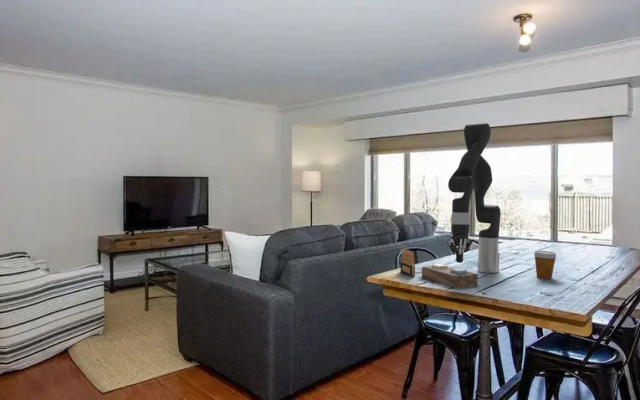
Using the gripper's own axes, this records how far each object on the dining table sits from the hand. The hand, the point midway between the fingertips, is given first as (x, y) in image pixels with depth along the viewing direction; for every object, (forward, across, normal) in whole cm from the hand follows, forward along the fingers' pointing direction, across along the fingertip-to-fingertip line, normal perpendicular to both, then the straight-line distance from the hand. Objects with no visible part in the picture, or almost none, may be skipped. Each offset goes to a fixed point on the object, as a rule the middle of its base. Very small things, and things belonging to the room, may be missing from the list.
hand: (459, 262), depth 189 cm
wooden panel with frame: (+10, +8, -25) cm, 28 cm away
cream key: (+7, 0, -12) cm, 14 cm away
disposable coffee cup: (+10, -48, +6) cm, 49 cm away
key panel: (+10, 0, -6) cm, 11 cm away
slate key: (+7, 0, 0) cm, 7 cm away
